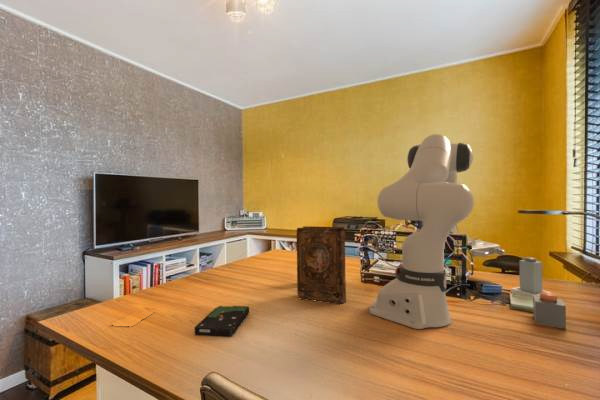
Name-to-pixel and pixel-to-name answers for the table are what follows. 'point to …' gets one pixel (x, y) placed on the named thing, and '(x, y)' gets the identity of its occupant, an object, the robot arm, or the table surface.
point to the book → (321, 264)
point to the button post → (549, 312)
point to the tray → (521, 302)
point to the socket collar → (522, 293)
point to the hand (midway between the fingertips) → (495, 253)
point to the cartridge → (530, 275)
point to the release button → (548, 297)
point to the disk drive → (222, 321)
